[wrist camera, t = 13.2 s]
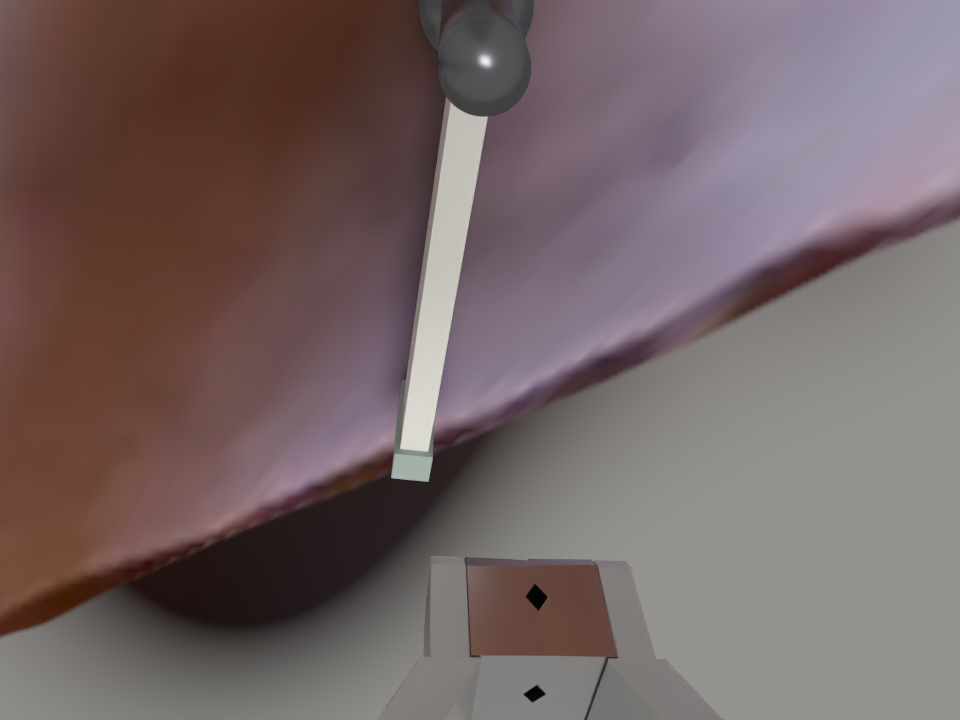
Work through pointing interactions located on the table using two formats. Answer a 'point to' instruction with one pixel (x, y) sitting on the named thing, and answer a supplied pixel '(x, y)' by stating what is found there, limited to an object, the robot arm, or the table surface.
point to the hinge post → (480, 51)
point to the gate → (437, 289)
